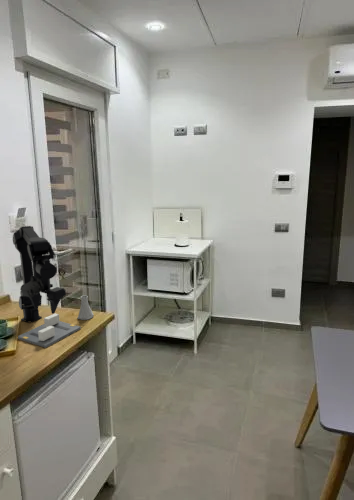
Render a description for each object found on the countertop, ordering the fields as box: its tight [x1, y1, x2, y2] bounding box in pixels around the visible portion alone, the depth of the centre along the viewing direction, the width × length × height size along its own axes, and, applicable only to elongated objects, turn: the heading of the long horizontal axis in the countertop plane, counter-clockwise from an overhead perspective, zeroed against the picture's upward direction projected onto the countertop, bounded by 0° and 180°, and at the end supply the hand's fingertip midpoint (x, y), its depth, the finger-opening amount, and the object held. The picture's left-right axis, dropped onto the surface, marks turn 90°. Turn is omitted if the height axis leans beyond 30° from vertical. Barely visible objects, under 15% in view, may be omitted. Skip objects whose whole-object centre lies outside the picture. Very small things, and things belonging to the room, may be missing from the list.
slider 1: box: [43, 313, 61, 327], centre depth 155 cm, size 2×6×4 cm, turn 151°
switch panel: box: [17, 320, 82, 349], centre depth 149 cm, size 16×19×1 cm
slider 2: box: [38, 326, 55, 341], centre depth 143 cm, size 2×6×4 cm, turn 151°
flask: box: [77, 295, 94, 321], centre depth 165 cm, size 7×7×10 cm
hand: (44, 311), depth 141 cm, fingers open, 9 cm apart
